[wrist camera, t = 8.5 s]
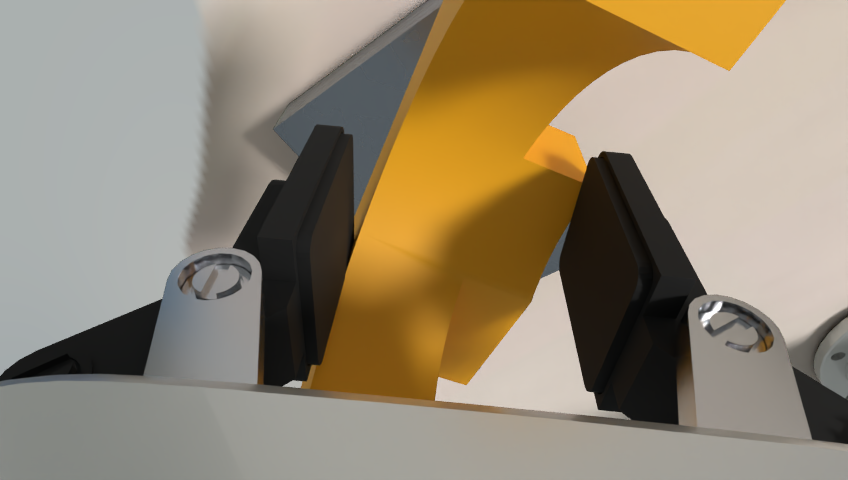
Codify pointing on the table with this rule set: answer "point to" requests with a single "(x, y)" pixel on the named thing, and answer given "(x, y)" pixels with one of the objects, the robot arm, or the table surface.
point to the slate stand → (369, 99)
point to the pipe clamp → (488, 177)
